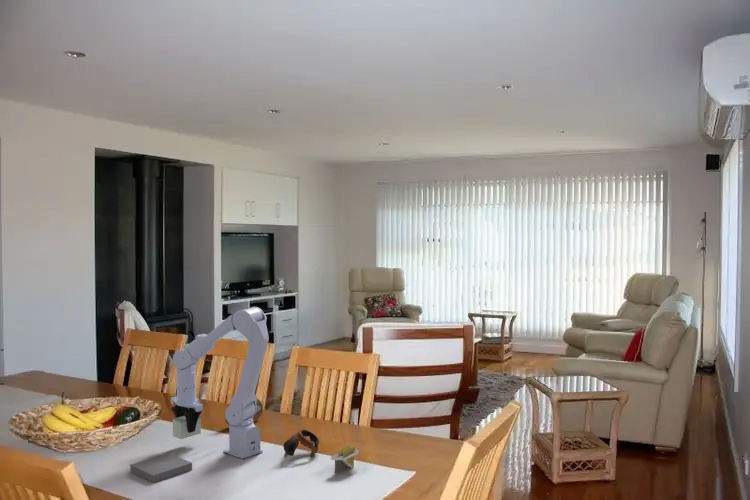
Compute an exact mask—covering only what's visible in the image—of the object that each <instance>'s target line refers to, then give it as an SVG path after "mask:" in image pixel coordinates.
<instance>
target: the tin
mask: <svg viewBox="0 0 750 500" xmlns="http://www.w3.org/2000/svg"><path fill="white" fill-rule="evenodd" d="M256 405H257V411H256V413H255V415H254V416H253V423H255V422H257V421H258V420H259V419H260V418H261V416H262V413H263V403H262V402H261V400H260V399H259V398H257V399H256ZM224 420H225V423H226V424H227V425H228V426H229V423H228V422H227V420H226V418H225V417H224Z"/></svg>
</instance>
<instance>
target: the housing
mask: <svg viewBox="0 0 750 500" xmlns="http://www.w3.org/2000/svg"><path fill="white" fill-rule="evenodd" d="M201 418H202V417H201V415H200V416H199V418H198V421H197V424H196V429H195V431H194V432H191V433H188V430H187V422H186V418H185V416H181V417H177V418H176V417H173V418H172V437H174V438H177V439H180V440H183V439H187V438H191V437H193V436H196V435H200V434H201V433H202V431H201V429H202V428H201V426H202V425H201Z"/></svg>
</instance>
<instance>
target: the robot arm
mask: <svg viewBox="0 0 750 500" xmlns="http://www.w3.org/2000/svg"><path fill="white" fill-rule="evenodd" d="M267 319H268V318H267V316H266V315H265V313H264V311H263V310H262V309H261V308H259V307H257V306H250V307H249V308H245V309H239V310H237V311H235V313H232V314H231V315H229V316H228V317H227V318H225V319H224V320H223V321H222V322H221V323H219V324H218V325H217V326H216V327H215V328H214V329H212V330H211V331H210V332H209V333H208V334H207V333H206V334H205V333H201V334H197V335H195V337H194V340H192V341H191V342H190V343H187V344H185V345H184V348H183V349H178V350H176V351H175V352H174V354H173V355H172V364H173V365H174V367H175V369H176V396H173V397H171V398H170V404H171V405H174V406H171V408H170V410H171V411H172V413H173V415H174V418H177V417H181V416H185V418H186V422H187V430H188V433H191V432H194V431H195V429H196V424H197V421H198V418H199V416H200V417H201V413H202V412H203V411H204V404H202V403H201V402H199V401H200V399H199V398H197V383H196V382H197V377H196V376H197V375H196V373H197V372H196V370H197V364H198V363H199V362H200V360H201V359H202V358H203V357H204V356H206V355H207V354H209V353H210V352H211V351H212V350H214V348H215V343H216V342H218V341H219V340H220V339H222V338H223V337H224V336H226V335H228V334H229V333H231V331H238V332H239V333H241V334H242V335H243V337H245V338H246V340H247V341H248V342H249V345H248V348H247V352H246V356H245V359H244V364H243V367H242V371H241V375H240V379H239V382H238V386H237V390H236V392H235V394H234V395H233V396H232V398H231V399H230V403H229V405H228V406H227V407H226V409H225V411H224V419H225V418H226V420H227V422H228V423H229V425H228V426H229V427H228V433H229V434H228V437H229V438H228V440H229V441H228V442H229V445H228V447H229V448H226V449H223V453H226V454H229V455H231V456H234V457H237V458H239V459H246V458H249V457H252V456H254V455H257V454H261V453H263V450H262V449H261V430H260V428H259V427H257V426H256V425H255V424H254V423H255V422H253V416H254V415H255V413H256V411H257V405H256V399H258V396H257V394H256V390H257V385H258V381H259V378H260V375H261V371H262V367H263V362H264V360H265V355H266V352H267V348H268V344H269V341H270V337H269V332H268V331H269V330H268V327H267ZM226 420H225V421H226Z"/></svg>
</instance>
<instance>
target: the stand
mask: <svg viewBox="0 0 750 500" xmlns="http://www.w3.org/2000/svg"><path fill="white" fill-rule="evenodd" d="M129 467H130V469H129V471H130V473H132V474H134V475H136V476H139V477H140V478H143V479H145V480H147V481H148V482H150V483H153V484H154V483H156V482H160V481H162V480H163V481H164V480H165V479H168V478H172V477H175V476H177V475H178V476H179V475H180V474H183V473H187V472H190V471H192V470H193V462H191V461H189V460H187V459H184V458H181V457H179V456H177V455H174V454H172V453H170V452H168V453H165V454H161V455H158V456H154V457H151V458H148V459H144V460H142V461H141V460H140V461H138V462H134V463H132V464H130V465H129Z"/></svg>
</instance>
